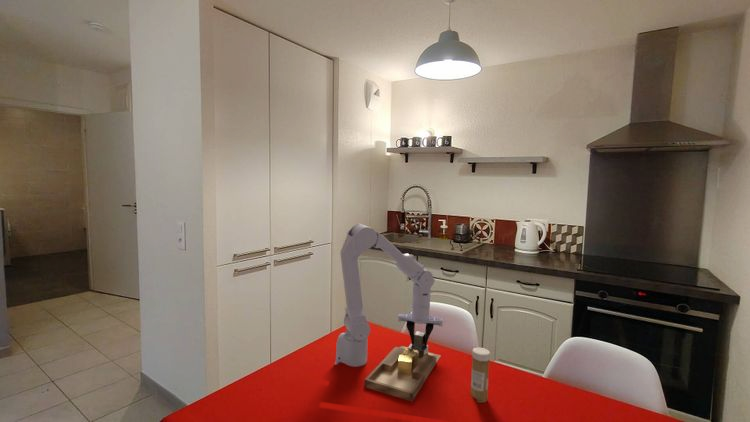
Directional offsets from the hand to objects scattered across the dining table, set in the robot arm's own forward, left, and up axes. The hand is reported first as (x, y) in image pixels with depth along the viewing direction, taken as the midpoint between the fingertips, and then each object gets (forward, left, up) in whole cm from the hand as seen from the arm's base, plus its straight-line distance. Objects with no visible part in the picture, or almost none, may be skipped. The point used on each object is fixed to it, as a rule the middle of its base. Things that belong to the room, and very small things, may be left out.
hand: (419, 344), depth 119 cm
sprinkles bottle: (+22, -15, -4) cm, 27 cm away
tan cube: (0, -9, -3) cm, 9 cm away
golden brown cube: (0, -13, -3) cm, 13 cm away
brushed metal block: (0, 0, -3) cm, 3 cm away
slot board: (0, -12, -4) cm, 13 cm away
